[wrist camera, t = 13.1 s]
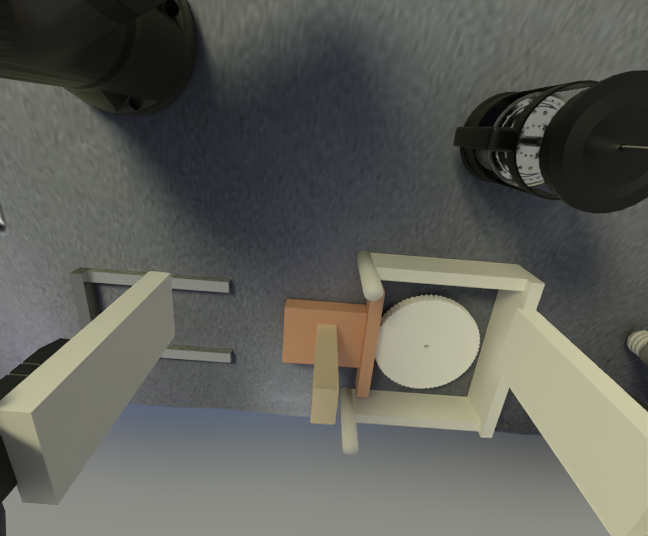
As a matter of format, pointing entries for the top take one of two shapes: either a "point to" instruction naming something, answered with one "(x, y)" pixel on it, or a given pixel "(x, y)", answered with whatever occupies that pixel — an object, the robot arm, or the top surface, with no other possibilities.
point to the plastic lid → (426, 341)
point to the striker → (332, 346)
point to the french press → (567, 142)
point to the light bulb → (639, 344)
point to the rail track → (87, 291)
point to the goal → (487, 381)
